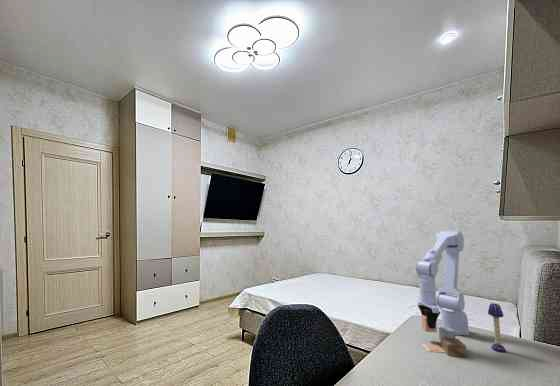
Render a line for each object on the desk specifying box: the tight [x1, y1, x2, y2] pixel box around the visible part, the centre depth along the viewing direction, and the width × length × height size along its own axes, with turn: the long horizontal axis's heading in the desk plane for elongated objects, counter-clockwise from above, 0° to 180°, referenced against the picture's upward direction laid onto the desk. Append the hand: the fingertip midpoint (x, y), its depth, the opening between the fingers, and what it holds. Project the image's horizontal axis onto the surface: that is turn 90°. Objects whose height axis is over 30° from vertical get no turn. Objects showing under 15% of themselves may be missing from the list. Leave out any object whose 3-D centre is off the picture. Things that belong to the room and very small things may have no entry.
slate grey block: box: [438, 327, 457, 342], centre depth 107 cm, size 4×4×5 cm
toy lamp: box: [487, 302, 507, 353], centre depth 101 cm, size 5×5×17 cm
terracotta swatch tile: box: [422, 343, 446, 354], centre depth 101 cm, size 6×6×1 cm
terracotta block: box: [421, 314, 438, 333], centre depth 107 cm, size 4×4×5 cm
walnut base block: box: [440, 337, 467, 358], centre depth 98 cm, size 6×6×4 cm
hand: (429, 325), depth 107 cm, fingers closed on terracotta block, 4 cm apart
